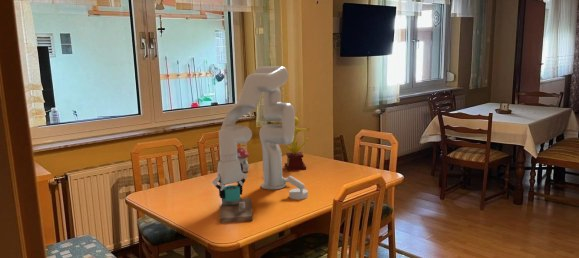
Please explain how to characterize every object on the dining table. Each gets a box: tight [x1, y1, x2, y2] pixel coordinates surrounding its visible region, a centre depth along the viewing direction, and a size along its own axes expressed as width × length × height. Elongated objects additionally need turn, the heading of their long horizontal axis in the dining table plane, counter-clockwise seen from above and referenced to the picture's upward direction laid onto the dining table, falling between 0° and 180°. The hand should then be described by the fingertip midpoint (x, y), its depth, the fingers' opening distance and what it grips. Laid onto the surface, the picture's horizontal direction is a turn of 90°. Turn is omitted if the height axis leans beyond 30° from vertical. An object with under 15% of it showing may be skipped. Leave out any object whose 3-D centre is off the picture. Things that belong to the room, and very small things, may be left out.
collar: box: [223, 184, 241, 202], centre depth 196 cm, size 7×7×5 cm
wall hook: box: [286, 175, 309, 200], centre depth 208 cm, size 9×10×10 cm
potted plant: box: [284, 116, 310, 172], centre depth 258 cm, size 14×16×30 cm
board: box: [219, 188, 254, 224], centre depth 191 cm, size 13×23×8 cm, turn 6°
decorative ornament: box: [237, 147, 250, 174], centre depth 254 cm, size 9×6×15 cm
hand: (231, 196), depth 196 cm, fingers open, 8 cm apart
